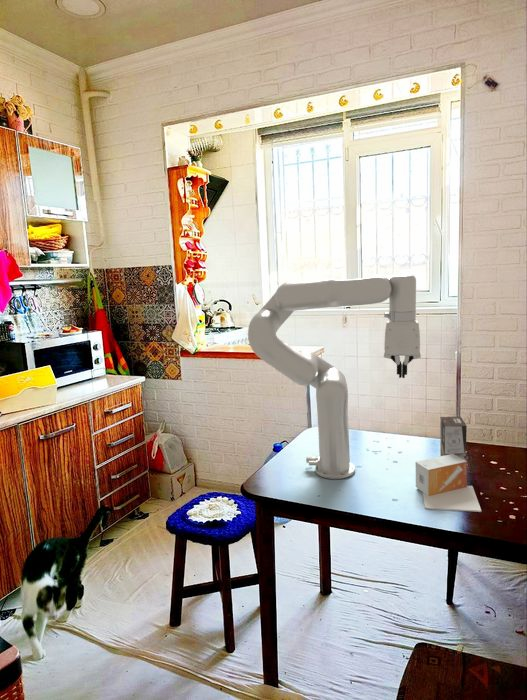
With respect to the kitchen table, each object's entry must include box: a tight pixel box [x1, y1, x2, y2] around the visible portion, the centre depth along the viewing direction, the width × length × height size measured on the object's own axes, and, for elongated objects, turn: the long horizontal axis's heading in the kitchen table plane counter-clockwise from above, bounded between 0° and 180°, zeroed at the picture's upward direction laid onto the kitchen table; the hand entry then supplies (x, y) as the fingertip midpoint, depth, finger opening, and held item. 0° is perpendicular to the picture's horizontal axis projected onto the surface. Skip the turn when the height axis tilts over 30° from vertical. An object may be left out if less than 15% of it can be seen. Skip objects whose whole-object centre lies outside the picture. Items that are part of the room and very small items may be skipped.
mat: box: [422, 485, 482, 513], centre depth 138 cm, size 14×14×1 cm
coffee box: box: [439, 416, 468, 461], centre depth 153 cm, size 9×6×16 cm
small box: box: [415, 454, 468, 496], centre depth 143 cm, size 8×6×13 cm
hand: (401, 376), depth 151 cm, fingers closed
